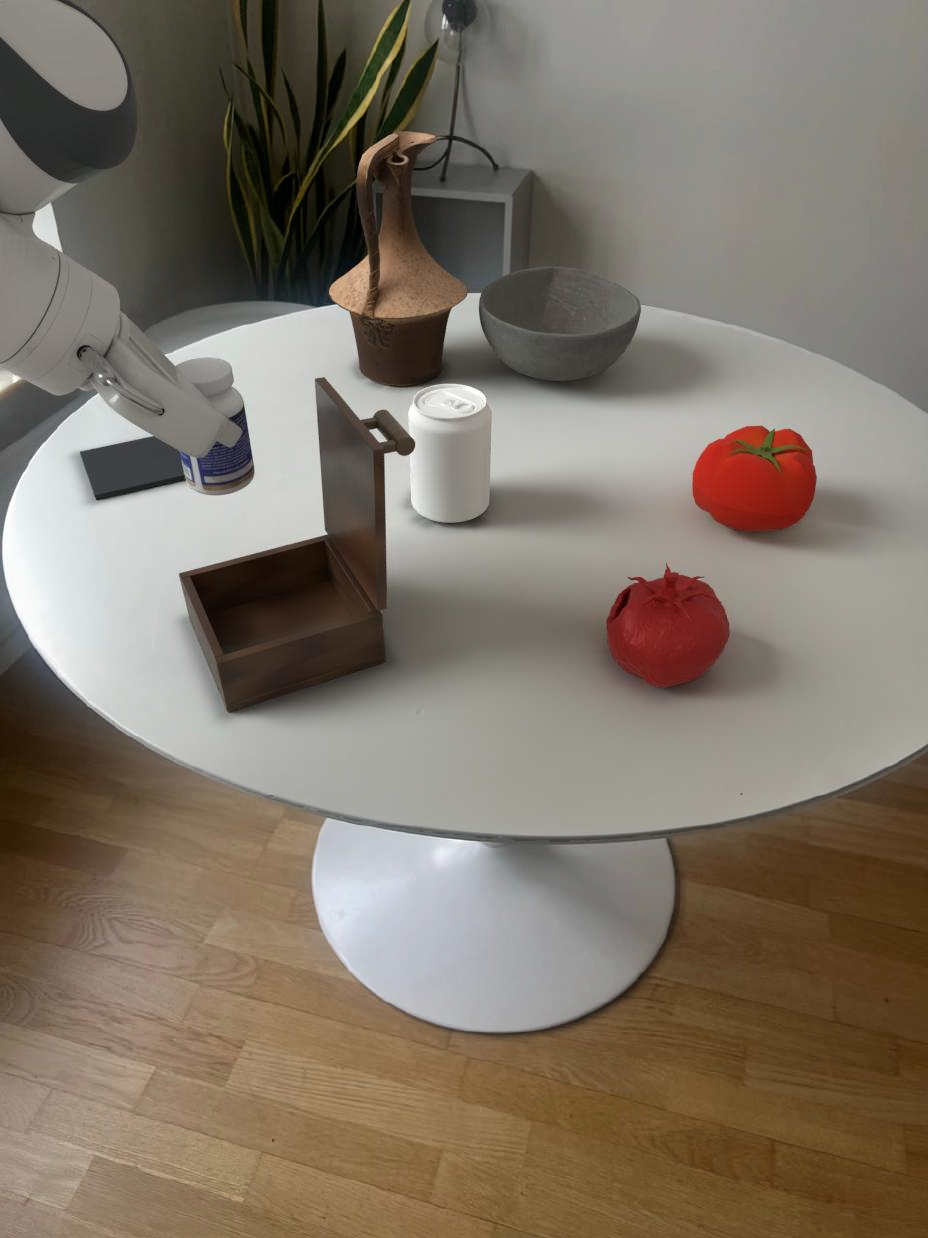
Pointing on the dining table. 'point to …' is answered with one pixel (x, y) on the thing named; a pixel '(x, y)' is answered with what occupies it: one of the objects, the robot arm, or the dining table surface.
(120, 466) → the mat
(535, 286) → the bowl
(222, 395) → the pill bottle
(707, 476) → the tomato
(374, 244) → the pitcher
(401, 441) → the chest lid
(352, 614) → the chest
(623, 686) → the dining table surface
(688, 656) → the red crowned fruit
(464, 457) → the beverage can
